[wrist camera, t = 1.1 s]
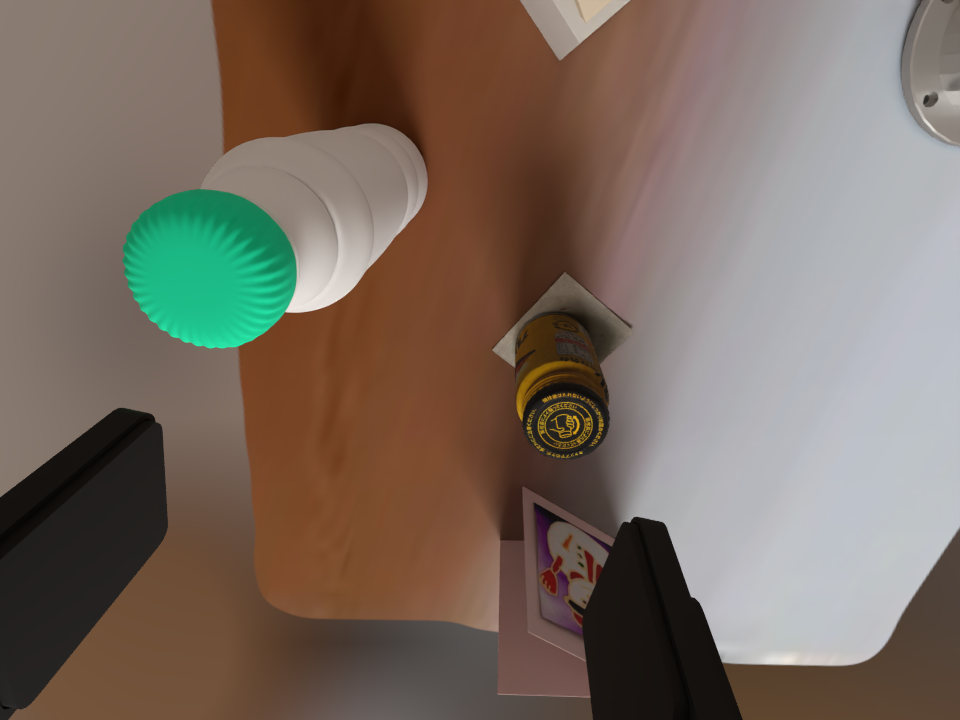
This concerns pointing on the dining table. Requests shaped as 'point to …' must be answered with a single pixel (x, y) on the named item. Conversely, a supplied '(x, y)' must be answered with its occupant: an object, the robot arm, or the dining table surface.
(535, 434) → the condiment
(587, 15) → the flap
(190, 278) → the water bottle
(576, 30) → the carton
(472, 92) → the dining table surface
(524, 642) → the greeting card
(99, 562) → the robot arm
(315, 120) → the dining table surface
